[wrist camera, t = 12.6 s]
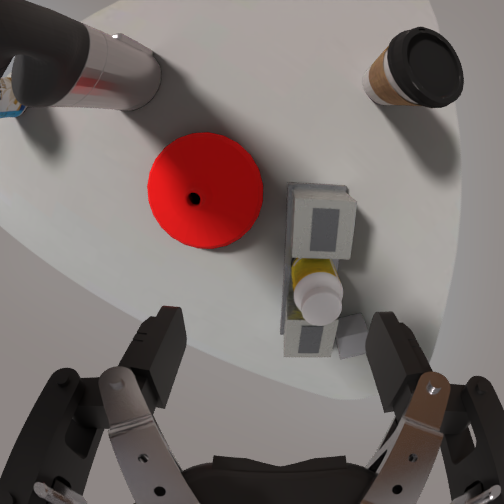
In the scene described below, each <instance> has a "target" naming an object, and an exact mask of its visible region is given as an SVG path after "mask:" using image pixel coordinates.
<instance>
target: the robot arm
mask: <svg viewBox="0 0 504 504" xmlns="http://www.w3.org/2000/svg"><path fill="white" fill-rule="evenodd" d="M15 55H16V56H15ZM14 56H15V59H14V63H13V68H12V75H11V84H12V90H13V94H14V96H15V98H16V100H17V101H18V102H19V103H20V104H22V105H24V106H27V107H84V108H102V109H115V110H126V111H128V110H135V109H138V108H140V107H142V106H144V105H145V104H146V103H148V102H149V101H150V100H151V99H152V98H153V97H154V95H155V93H156V92H157V90H158V88H159V85H160V81H161V69H160V66H159V64H158V62H157V61H156V60H155V59H154V57H153V51H152V50H151V49H149V48H147V47H145V46H144V45H142V44H140V43H138V42H137V41H135V40H133V39H131V38H129V37H128V36H126V35H124V34H122V33H118V34H114V35H109V34H106V33H104V32H102V31H100V30H97V29H95V28H93V27H90V26H88V25H86V24H83V23H81V22H78V21H76V20H73V19H71V18H69V17H67V16H64V15H62V14H60V13H58V12H56V11H53V10H51V9H48V8H45V7H42V6H39V5H36V4H34V3H31V2H28V1H25V0H0V79H1V77H2V76H3V74H4V72H5V70H6V69H7V67H8V65H9V64H10V62H11V60H12V58H13V57H14ZM186 341H187V337H186V330H185V325H184V320H183V314H182V309H181V308H180V307H173V306H162V307H161V309H160V311H159V312H158V314H157V316H156V317H152V316H150V317H149V318H148V319H147V320H145V321H144V322H143V323H142V324H141V326H140V327H139V329H138V331H137V334H136V335H135V336H134V338H133V341H132V342H131V344H130V345H129V347H128V349H127V351H126V352H125V354H124V356H123V358H122V360H121V361H120V363H119V365H118V366H117V367H112V368H109V369H107V370H106V371H104V372H103V373H102V375H101V376H100V377H97V378H80V376H79V375H78V373H77V372H76V371H75V370H74V369H71V368H62V369H59V370H57V371H56V372H54V373H53V374H52V376H51V377H50V379H49V380H48V382H47V384H46V385H45V387H44V389H43V391H42V392H41V394H40V396H39V398H38V400H37V401H36V403H35V405H34V407H33V409H32V411H31V412H30V414H29V416H28V418H27V420H26V422H25V424H24V426H23V428H22V430H21V432H20V434H19V436H18V438H17V440H16V443H15V445H14V447H13V449H12V452H11V454H10V456H9V459H8V461H7V464H6V466H5V468H4V471H3V473H2V476H1V478H0V504H87V502H86V500H85V499H84V497H83V492H84V489H85V485H86V482H87V478H88V475H89V472H90V469H91V466H92V463H93V460H94V457H95V454H96V451H97V448H98V445H99V442H100V440H101V436H102V434H103V431H104V429H110V430H108V435H109V438H110V441H111V444H112V447H113V450H114V453H115V455H116V458H117V461H118V463H119V466H120V468H121V471H122V473H123V475H124V478H125V480H126V483H127V485H128V487H129V489H130V491H131V494H132V496H133V498H134V500H135V502H136V503H134V504H416V502H417V500H418V498H419V497H420V494H421V492H422V490H423V488H424V486H425V483H426V481H427V479H428V477H429V474H430V472H431V470H432V467H433V464H434V462H435V459H436V457H437V454H438V451H439V448H441V452H442V456H443V460H444V464H445V469H446V473H447V478H448V483H449V488H450V494H451V500H452V502H451V503H450V504H504V410H503V407H502V405H501V403H500V401H499V399H498V396H497V394H496V392H495V390H494V388H493V386H492V385H491V383H490V382H489V381H488V380H487V379H486V378H484V377H481V376H474V377H472V378H470V380H469V381H468V382H467V384H466V385H456V384H450V383H449V381H448V380H447V378H446V377H445V376H443V375H442V374H440V373H437V372H433V371H432V369H431V367H430V365H429V363H428V361H427V359H426V357H425V355H424V353H423V351H422V349H421V347H419V344H418V342H417V340H416V338H415V336H414V334H413V333H412V331H411V329H409V328H408V327H407V326H406V325H405V324H404V323H399V322H398V320H397V318H396V316H395V314H394V313H393V312H376V313H375V314H374V316H373V319H372V322H371V325H370V329H369V332H368V335H367V338H366V342H365V351H366V355H367V358H368V361H369V364H370V367H371V370H372V373H373V376H374V379H375V383H376V386H377V389H378V393H379V396H380V399H381V402H382V406H383V410H384V413H386V412H392V411H394V412H395V417H394V419H393V420H392V422H391V424H390V427H389V428H388V430H387V432H386V434H385V436H384V438H383V440H382V442H381V444H380V445H379V447H378V449H377V451H376V452H375V454H374V456H373V457H372V458H371V460H370V461H369V462H368V464H367V465H366V467H362V466H359V465H356V464H351V463H346V457H345V456H337V457H326V458H314V459H310V460H307V461H303V462H299V463H295V464H291V465H286V466H281V467H280V466H274V465H270V464H266V463H262V462H258V461H254V460H251V459H247V458H233V457H224V456H215V455H214V457H213V462H212V463H205V464H200V465H196V466H193V467H190V468H188V469H186V470H184V471H183V470H182V468H181V466H180V465H179V463H178V461H177V460H176V458H175V456H174V455H173V453H172V451H171V449H170V447H169V445H168V444H167V442H166V440H165V438H164V436H163V434H162V432H161V430H160V428H159V426H158V424H157V422H156V420H155V418H154V416H153V413H154V411H155V408H156V407H158V408H163V409H165V407H166V404H167V401H168V398H169V395H170V392H171V389H172V386H173V383H174V380H175V377H176V374H177V371H178V368H179V366H180V363H181V360H182V357H183V354H184V351H185V348H186ZM470 423H471V425H472V428H473V431H474V434H475V437H476V441H477V442H476V447H474V444H473V440H472V437H471V434H470V431H469V428H468V425H470Z"/></svg>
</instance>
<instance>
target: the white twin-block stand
mask: <svg viewBox="0 0 504 504" xmlns="http://www.w3.org/2000/svg"><path fill="white" fill-rule="evenodd" d="M346 190H347V186H345V185H331V184H314V183H293V182H288V187H287V217H286V240H285V260H284V279H283V295H282V310H281V324H280V334H281V335H284V357H331V353H332V348H333V344H334V340H335V336H336V331H337V327H338V322H339V319H338V318H337V319H336V320H335V321H333V322H332V323H330V324H327V325H323V326H316V325H312V324H310V323H308V322H307V321H306V320H305V319H304V318H303V315H302V312H301V311H300V310H299V309H298V307H297V306H296V304H295V301H294V296H293V286H292V276H291V264H292V261H293V259H294V258H318V259H331V260H332V262H333V264H334V267H335V269H336V271H337V270H338V263H339V259H350V256H351V249H352V242H353V234H354V226H355V217H356V208H357V201H356V200H354V199H353V198H352V197H351V196H350V195H349V194H347V193H346Z"/></svg>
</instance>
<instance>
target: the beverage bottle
mask: <svg viewBox="0 0 504 504" xmlns="http://www.w3.org/2000/svg"><path fill="white" fill-rule="evenodd" d="M26 107H27V106H24V105H22V104H20V103H19V102H18V101H17V100H16V98H15V96H14V94H13V90H12V84H11V78H8V77H1V79H0V118H4V117H17V116H20V115H21V114H22V113H23V112H24V111H25V109H26Z"/></svg>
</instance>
